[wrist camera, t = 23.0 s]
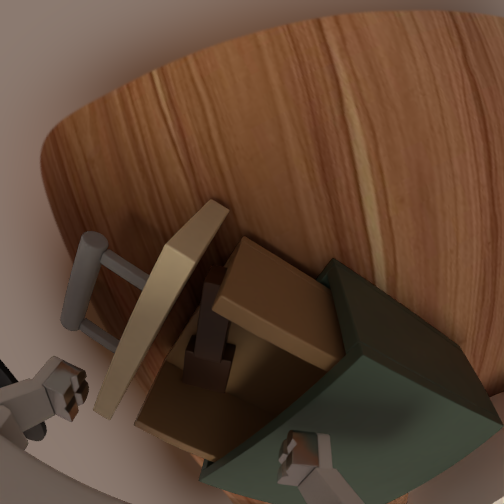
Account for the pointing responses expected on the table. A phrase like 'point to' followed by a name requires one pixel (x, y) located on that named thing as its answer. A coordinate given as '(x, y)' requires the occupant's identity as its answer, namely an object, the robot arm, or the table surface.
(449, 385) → the cabinet
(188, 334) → the drawer
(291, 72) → the table surface
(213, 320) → the dark brown stepped post
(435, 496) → the bowl
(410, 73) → the table surface
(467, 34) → the table surface
